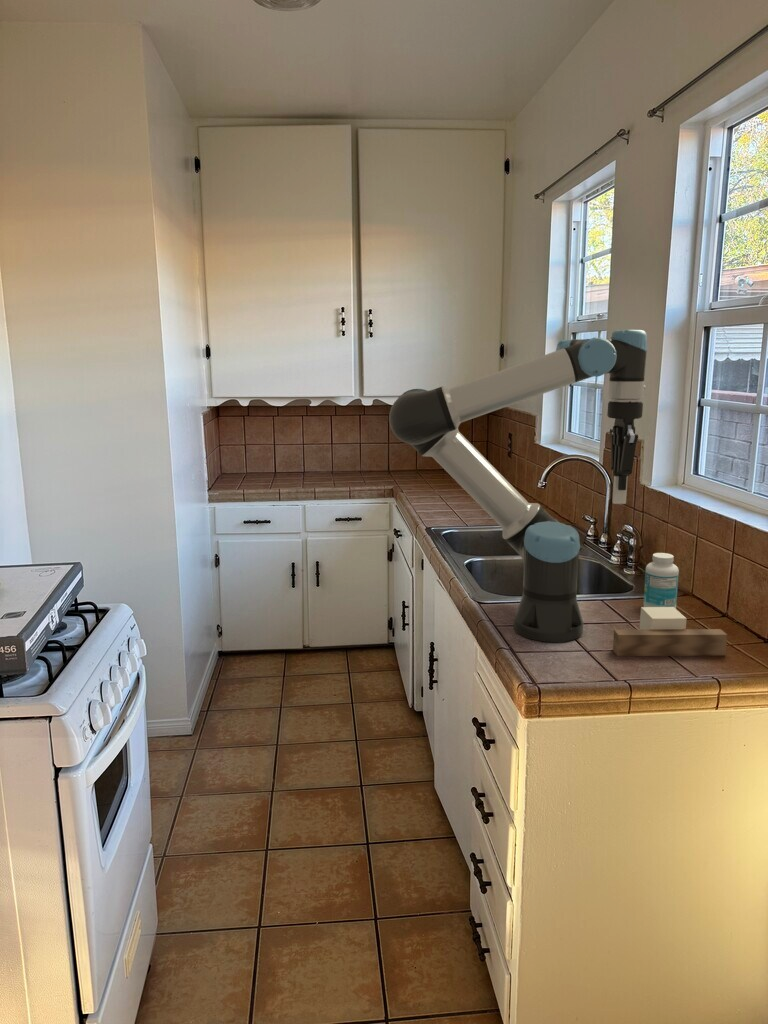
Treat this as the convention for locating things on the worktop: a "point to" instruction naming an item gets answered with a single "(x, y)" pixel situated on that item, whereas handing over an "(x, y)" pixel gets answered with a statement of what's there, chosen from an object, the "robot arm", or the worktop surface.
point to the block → (661, 618)
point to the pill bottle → (661, 582)
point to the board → (669, 642)
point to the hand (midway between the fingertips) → (619, 503)
